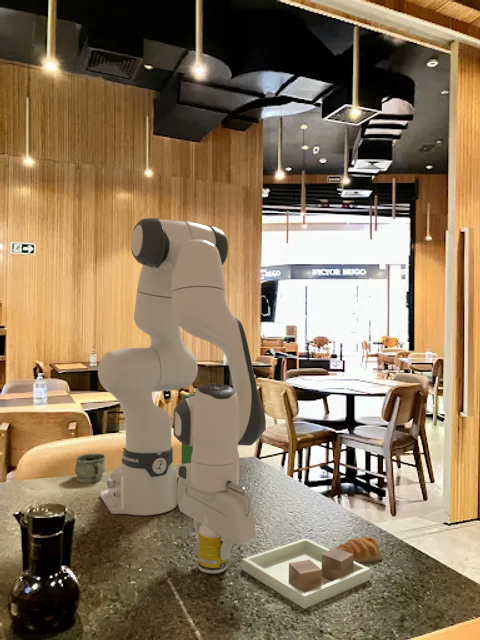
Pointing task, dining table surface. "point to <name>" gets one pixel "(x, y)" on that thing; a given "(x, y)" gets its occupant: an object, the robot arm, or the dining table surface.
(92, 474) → the vessel
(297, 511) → the dining table surface
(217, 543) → the supplement bottle
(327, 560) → the walnut block
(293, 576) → the walnut block
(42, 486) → the dining table surface
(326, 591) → the tray
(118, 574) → the dining table surface
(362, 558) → the pastry
